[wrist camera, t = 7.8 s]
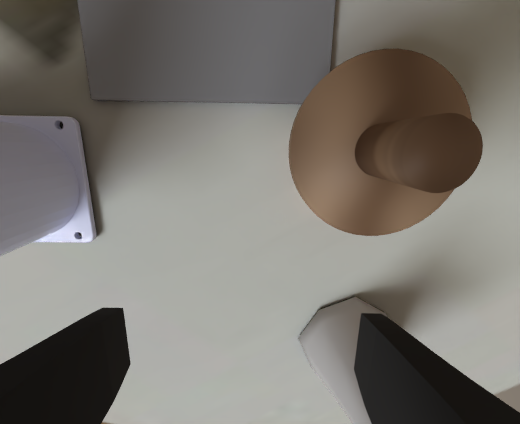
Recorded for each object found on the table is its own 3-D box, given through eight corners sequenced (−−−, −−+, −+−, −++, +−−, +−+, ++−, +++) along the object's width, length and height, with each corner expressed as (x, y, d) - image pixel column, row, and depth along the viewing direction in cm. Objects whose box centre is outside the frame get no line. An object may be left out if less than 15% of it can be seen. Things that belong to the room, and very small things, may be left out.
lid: (292, 236, 15) (310, 285, 10) (284, 61, 13) (302, 7, 8) (449, 224, 15) (550, 268, 10) (471, 47, 13) (618, -19, 7)
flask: (281, 334, 20) (302, 509, 11) (356, 279, 19) (458, 418, 9) (336, 389, 22) (400, 586, 12) (410, 341, 21) (545, 516, 11)
